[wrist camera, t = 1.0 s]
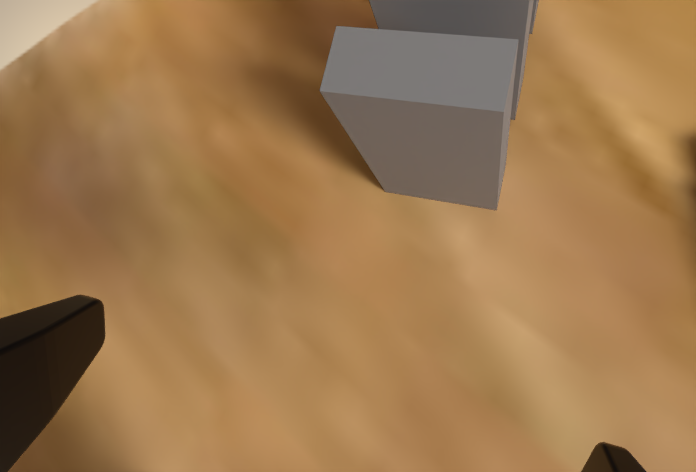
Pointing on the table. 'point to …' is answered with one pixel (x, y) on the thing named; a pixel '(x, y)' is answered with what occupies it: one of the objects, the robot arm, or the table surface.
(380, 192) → the table surface
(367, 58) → the domino
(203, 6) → the table surface
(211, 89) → the table surface
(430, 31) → the domino
